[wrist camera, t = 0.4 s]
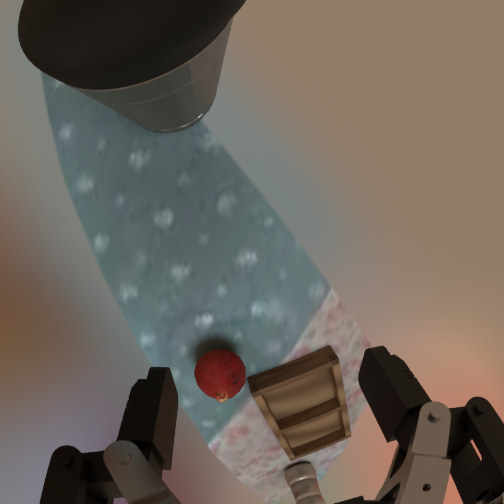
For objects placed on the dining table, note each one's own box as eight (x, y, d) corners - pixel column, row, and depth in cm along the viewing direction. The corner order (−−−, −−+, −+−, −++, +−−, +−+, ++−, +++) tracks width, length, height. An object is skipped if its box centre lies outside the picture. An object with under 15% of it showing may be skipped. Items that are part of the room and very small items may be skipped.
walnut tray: (247, 377, 35) (251, 393, 33) (329, 345, 36) (338, 358, 33) (286, 448, 43) (290, 460, 40) (345, 425, 44) (351, 436, 41)
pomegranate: (227, 328, 32) (235, 373, 25) (248, 359, 34) (260, 404, 27) (185, 347, 32) (184, 394, 25) (209, 377, 34) (213, 422, 27)
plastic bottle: (301, 473, 48) (326, 540, 30) (277, 473, 47) (299, 545, 28) (317, 459, 47) (347, 530, 28) (293, 459, 45) (320, 536, 27)
